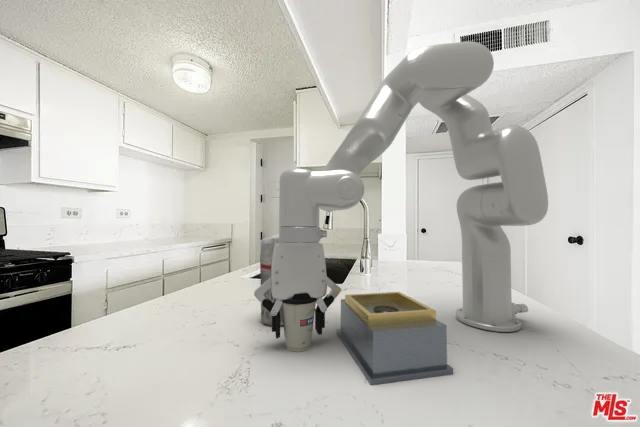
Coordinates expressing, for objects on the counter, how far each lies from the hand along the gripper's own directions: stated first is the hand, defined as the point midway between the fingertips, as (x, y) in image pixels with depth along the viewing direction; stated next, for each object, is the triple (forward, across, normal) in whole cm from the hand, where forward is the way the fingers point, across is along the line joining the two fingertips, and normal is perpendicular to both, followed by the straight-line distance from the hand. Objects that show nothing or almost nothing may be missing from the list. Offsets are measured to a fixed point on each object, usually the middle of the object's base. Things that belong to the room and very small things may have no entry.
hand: (298, 332), depth 48 cm
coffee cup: (+3, 0, 0) cm, 3 cm away
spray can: (+3, +3, -13) cm, 14 cm away
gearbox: (+2, -15, +5) cm, 16 cm away
